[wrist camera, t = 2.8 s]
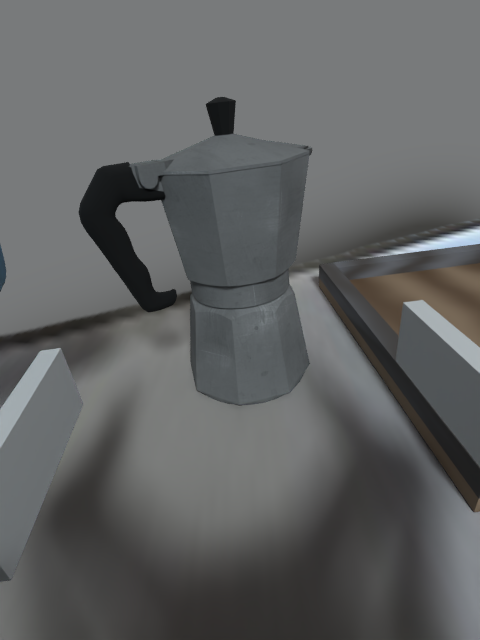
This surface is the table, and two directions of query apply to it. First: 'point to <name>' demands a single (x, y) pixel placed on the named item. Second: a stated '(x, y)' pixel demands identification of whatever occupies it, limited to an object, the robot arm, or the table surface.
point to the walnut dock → (384, 325)
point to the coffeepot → (220, 252)
